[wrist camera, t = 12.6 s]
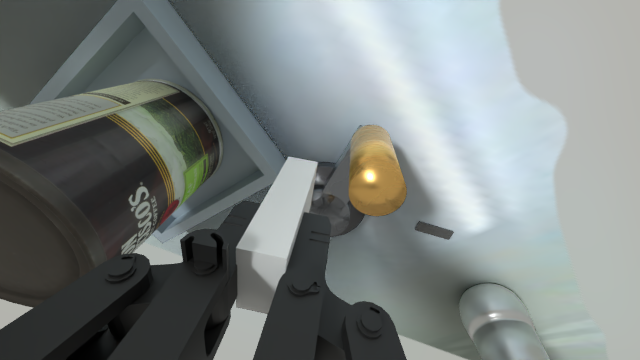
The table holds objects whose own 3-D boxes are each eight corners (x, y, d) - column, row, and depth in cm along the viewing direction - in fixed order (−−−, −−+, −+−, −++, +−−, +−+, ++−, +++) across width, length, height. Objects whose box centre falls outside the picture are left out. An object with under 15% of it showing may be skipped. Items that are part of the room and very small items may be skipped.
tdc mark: (414, 228, 27) (415, 229, 27) (419, 221, 26) (419, 222, 26) (448, 238, 27) (448, 239, 27) (453, 231, 27) (453, 232, 26)
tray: (56, 106, 25) (19, 115, 22) (161, -9, 19) (130, -15, 17) (179, 225, 31) (162, 243, 28) (288, 163, 25) (280, 179, 22)
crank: (334, 234, 27) (326, 312, 19) (289, 213, 26) (264, 285, 19) (407, 136, 21) (435, 193, 14) (352, 105, 20) (350, 148, 13)
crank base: (270, 184, 26) (267, 191, 25) (339, 147, 24) (338, 152, 23) (314, 239, 29) (312, 246, 28) (380, 211, 26) (381, 218, 25)
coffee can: (241, 121, 23) (111, 224, 11) (203, 200, 28) (83, 334, 15) (126, 49, 21) (-191, 74, 9) (106, 148, 26) (-116, 252, 14)
